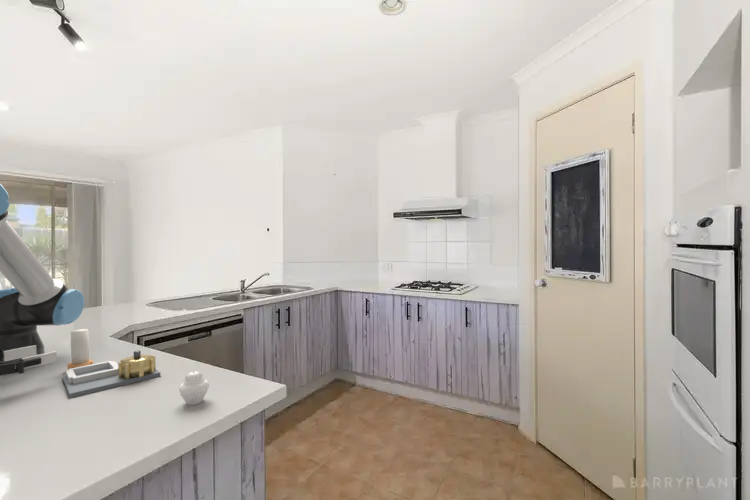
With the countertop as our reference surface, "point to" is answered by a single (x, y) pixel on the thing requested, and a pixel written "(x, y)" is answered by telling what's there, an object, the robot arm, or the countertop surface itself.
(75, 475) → the countertop surface
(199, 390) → the muffin
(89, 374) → the carrier plate
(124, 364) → the sun gear
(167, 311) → the countertop surface
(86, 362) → the white cylinder orange base
